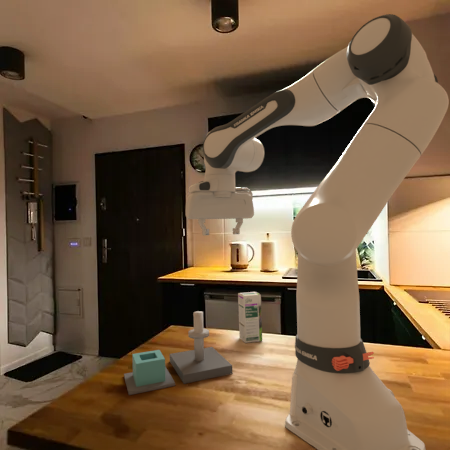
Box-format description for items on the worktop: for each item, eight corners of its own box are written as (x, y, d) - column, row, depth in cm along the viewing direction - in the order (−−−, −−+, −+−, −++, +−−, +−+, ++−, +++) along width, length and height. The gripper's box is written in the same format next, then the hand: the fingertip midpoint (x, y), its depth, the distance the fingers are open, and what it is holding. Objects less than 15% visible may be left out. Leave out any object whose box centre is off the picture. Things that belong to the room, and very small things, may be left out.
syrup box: (244, 343, 100) (243, 295, 100) (238, 337, 105) (237, 292, 106) (262, 341, 101) (261, 294, 102) (255, 335, 107) (254, 290, 107)
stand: (232, 373, 79) (231, 315, 79) (183, 383, 75) (182, 322, 75) (212, 353, 92) (211, 304, 92) (169, 361, 88) (168, 309, 88)
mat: (175, 385, 74) (175, 382, 74) (128, 395, 70) (128, 392, 70) (165, 368, 83) (165, 366, 83) (124, 376, 79) (124, 373, 79)
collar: (165, 381, 75) (165, 358, 75) (136, 386, 72) (136, 363, 72) (159, 370, 81) (159, 349, 81) (132, 375, 78) (132, 354, 78)
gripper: (247, 189, 102) (248, 233, 102) (183, 187, 94) (184, 235, 94) (257, 186, 96) (258, 233, 96) (189, 184, 88) (191, 236, 88)
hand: (221, 234), depth 95 cm, fingers open, 8 cm apart
